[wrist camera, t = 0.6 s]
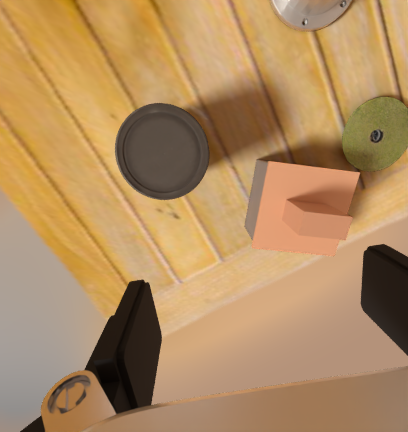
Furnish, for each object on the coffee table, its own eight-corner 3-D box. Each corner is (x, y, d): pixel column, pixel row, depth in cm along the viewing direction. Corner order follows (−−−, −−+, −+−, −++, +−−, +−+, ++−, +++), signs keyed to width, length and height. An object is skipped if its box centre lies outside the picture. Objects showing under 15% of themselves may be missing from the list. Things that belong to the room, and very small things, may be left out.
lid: (266, 160, 34) (285, 166, 27) (354, 171, 35) (394, 179, 28) (250, 244, 38) (263, 268, 31) (329, 252, 39) (359, 277, 32)
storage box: (256, 159, 41) (270, 164, 34) (325, 167, 42) (354, 174, 34) (244, 226, 45) (254, 244, 37) (307, 232, 46) (330, 251, 38)
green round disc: (325, 123, 40) (331, 122, 38) (391, 83, 38) (401, 81, 37) (349, 182, 43) (356, 184, 41) (411, 147, 41) (422, 147, 40)
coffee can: (167, 100, 38) (152, 80, 25) (217, 144, 40) (228, 148, 27) (129, 153, 40) (95, 160, 27) (178, 192, 42) (171, 217, 29)
